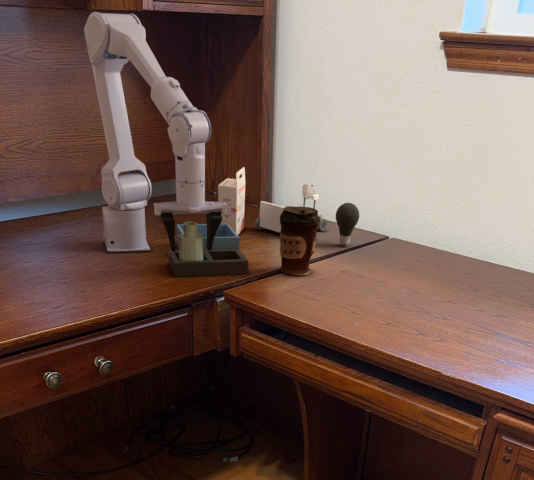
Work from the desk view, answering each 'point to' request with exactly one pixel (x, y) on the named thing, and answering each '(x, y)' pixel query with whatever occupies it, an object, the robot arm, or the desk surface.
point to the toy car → (272, 211)
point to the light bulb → (346, 221)
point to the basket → (222, 239)
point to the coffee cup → (297, 238)
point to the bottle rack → (210, 263)
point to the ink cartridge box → (233, 201)
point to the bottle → (190, 243)
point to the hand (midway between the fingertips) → (191, 249)
